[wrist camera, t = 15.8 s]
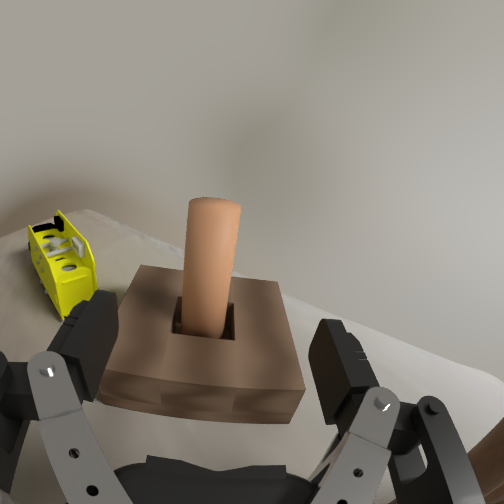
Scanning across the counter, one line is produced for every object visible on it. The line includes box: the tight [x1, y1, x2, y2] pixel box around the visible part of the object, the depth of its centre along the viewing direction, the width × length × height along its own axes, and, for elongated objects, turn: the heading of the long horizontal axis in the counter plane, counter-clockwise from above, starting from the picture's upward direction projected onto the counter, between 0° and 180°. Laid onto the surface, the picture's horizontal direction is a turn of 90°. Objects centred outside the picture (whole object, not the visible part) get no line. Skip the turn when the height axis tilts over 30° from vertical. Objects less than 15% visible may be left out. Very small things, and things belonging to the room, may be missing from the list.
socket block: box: [99, 265, 306, 424], centre depth 28 cm, size 16×16×5 cm
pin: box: [181, 197, 241, 339], centre depth 26 cm, size 4×4×14 cm
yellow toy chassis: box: [28, 210, 97, 320], centre depth 32 cm, size 16×6×8 cm, turn 50°
